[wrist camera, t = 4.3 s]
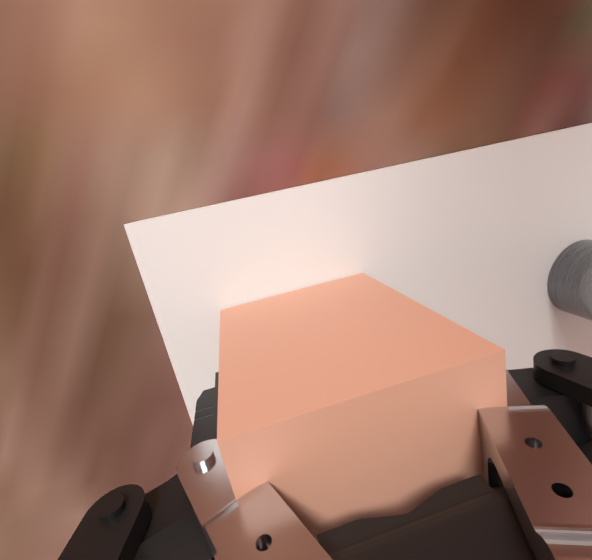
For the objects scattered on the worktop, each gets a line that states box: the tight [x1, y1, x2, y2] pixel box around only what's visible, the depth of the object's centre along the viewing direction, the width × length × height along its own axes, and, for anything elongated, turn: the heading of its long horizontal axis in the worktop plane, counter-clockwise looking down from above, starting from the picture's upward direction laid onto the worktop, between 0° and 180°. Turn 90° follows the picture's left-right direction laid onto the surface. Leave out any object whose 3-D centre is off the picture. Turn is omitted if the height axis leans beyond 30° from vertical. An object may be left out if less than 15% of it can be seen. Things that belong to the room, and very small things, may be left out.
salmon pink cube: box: [217, 273, 507, 541], centre depth 10 cm, size 6×6×7 cm
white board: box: [124, 123, 592, 425], centre depth 15 cm, size 24×13×2 cm, turn 102°
